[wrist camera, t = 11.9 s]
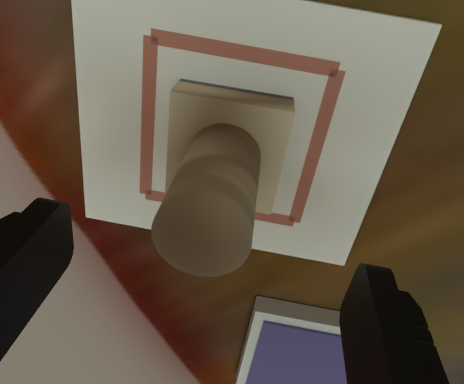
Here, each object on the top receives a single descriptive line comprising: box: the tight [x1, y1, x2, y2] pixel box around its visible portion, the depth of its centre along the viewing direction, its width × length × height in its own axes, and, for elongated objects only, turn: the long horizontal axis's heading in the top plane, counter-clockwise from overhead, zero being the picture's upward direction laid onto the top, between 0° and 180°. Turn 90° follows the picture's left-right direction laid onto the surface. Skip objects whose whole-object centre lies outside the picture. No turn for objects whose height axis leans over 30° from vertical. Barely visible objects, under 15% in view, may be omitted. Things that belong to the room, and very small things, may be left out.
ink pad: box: [235, 296, 347, 384], centre depth 25 cm, size 10×8×1 cm
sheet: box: [71, 0, 442, 266], centre depth 18 cm, size 14×12×1 cm
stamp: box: [151, 79, 295, 277], centre depth 14 cm, size 5×5×7 cm
